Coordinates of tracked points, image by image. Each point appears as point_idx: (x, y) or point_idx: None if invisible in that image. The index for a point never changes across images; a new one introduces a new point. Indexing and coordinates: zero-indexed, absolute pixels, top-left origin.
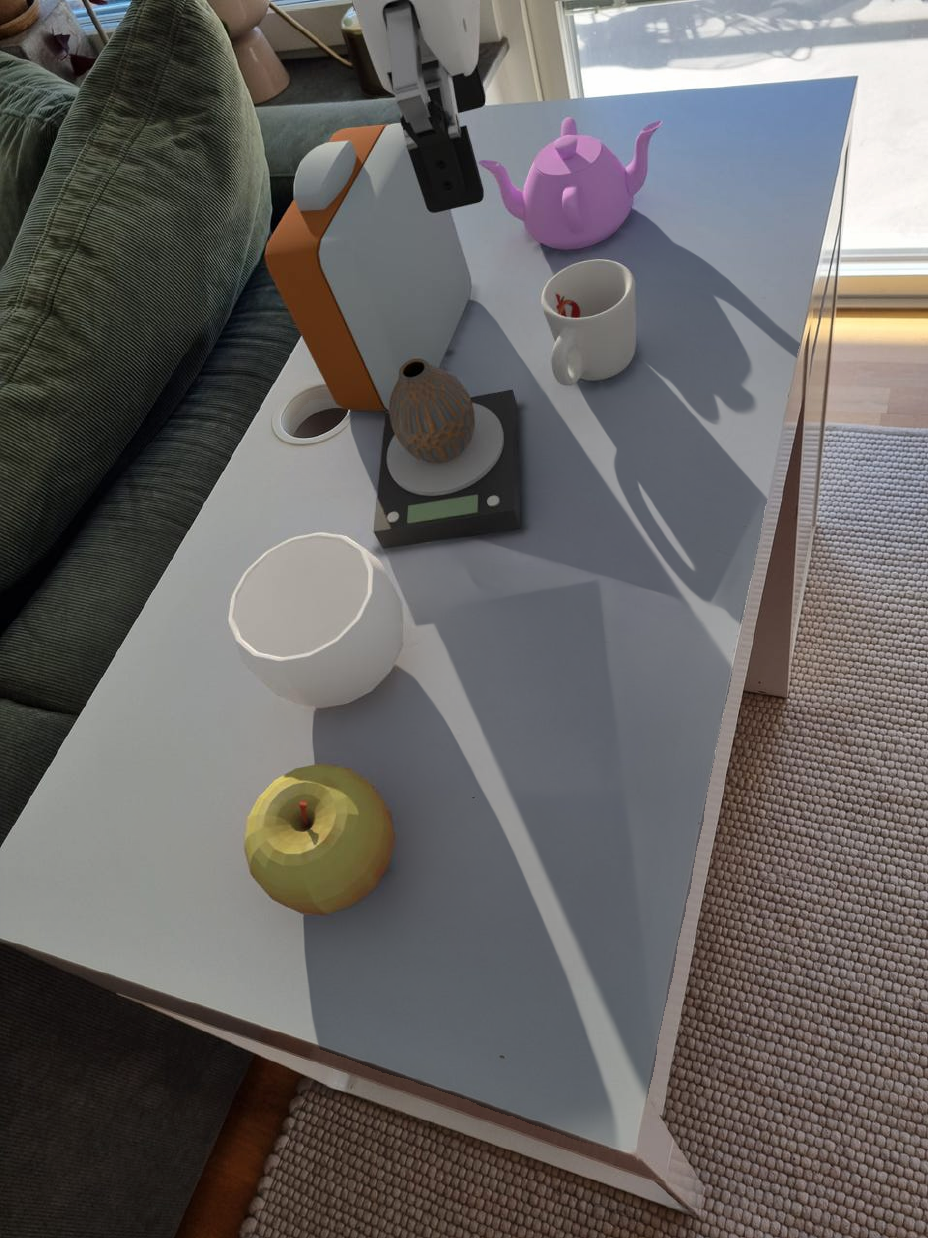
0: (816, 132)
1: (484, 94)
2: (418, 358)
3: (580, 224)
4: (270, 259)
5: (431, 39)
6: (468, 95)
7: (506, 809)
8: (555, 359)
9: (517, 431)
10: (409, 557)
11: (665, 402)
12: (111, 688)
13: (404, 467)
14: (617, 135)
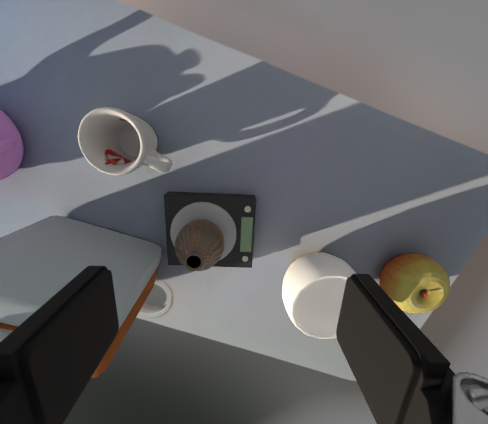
0: None
1: (94, 270)
2: (185, 259)
3: (11, 140)
4: (101, 372)
5: None
6: (100, 298)
7: (399, 207)
8: (165, 169)
9: (189, 193)
10: (259, 248)
11: (181, 105)
12: (295, 362)
13: None
14: None
